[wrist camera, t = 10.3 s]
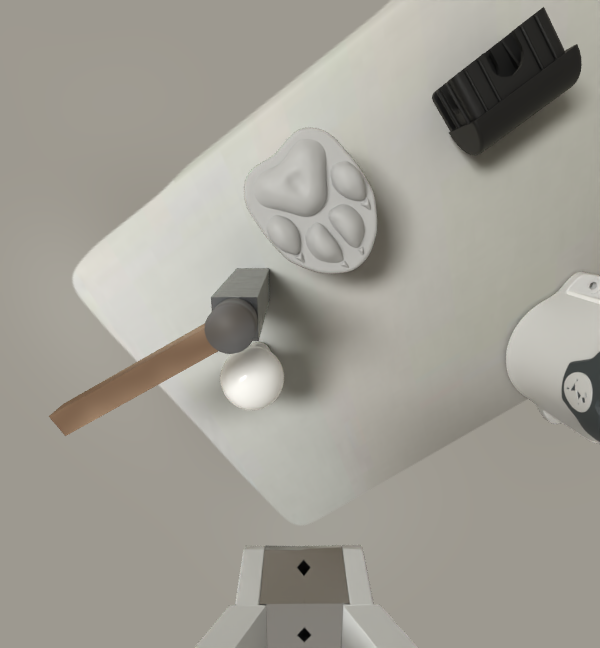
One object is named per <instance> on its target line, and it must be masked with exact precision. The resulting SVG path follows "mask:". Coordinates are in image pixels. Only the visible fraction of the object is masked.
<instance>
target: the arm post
mask: <svg viewBox="0 0 600 648" xmlns="http://www.w3.org/2000/svg"><path fill="white" fill-rule="evenodd" d="M229 298H238V299H242V300H244V301H246V302H248V303H249V304H250V305H251V306H252V307H253V308H254V310H255V312H256V314H257V319H258V324H257V328H256V331H255V334H254V337H253V340H252V341H259V338H260V334H261V330H262V326H263V323H264V319H265V315H266V312H267V308H268V304H269V300H270V293H269V269H268V268H237V269H236V270H235V271H234V272H233V273H232V274H231V276H230V277H229V278H228V279H227V280H226V281H225V282H224V283H223V284H222V286H221V287H220V288H219V289H218V290H217V291H216V292H215V293H214V294H213V296H212V297H211V304H212V311H213V310H214V308H215V307H216V306H217V305H218V304H219V303H220V302H222V301H223V300H226V299H229Z"/></svg>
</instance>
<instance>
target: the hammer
mask: <svg viewBox="0 0 600 648" xmlns="http://www.w3.org/2000/svg"><path fill="white" fill-rule="evenodd" d="M257 324H258V319H257V314H256V312H255V310H254V308H253V307H252V306H251V305H250V304H249V303H248V302H246V301H244V300H242V299H238V298H229V299H226V300H223V301H222V302H220V303H219V304H218V305H217V306H216V307H215V308H214V310H213V311H212V312H211V314H210V315H209V316H208V318H207V320H206V322H205V324H203V325H201V326H199V327H198V328H196V329H194V330H192V331H191V332H189V333H187V334H185V335H184V336H182V337H180V338H178V339H177V340H175V341H173V342H171V343H170V344H168V345H166V346H164V347H163V348H161V349H159V350H157V351H156V352H154V353H152V354H150V355H149V356H147V357H145V358H143V359H142V360H140V361H138V362H136V363H135V364H133V365H131V366H129V367H127V368H126V369H124V370H122V371H120V372H119V373H117V374H116V375H113V376H112V377H110V378H108V379H107V380H105V381H103V382H101V383H99V384H98V385H96V386H94V387H92V388H91V389H89V390H87V391H85V392H84V393H82V394H80V395H78V396H77V397H75V398H73V399H71V400H70V401H68V402H66V403H64V404H63V405H62V406H60V407H59V408H58V409H57V410H56V411H55V412H54V413H52V414H51V415H50V416H49V417H50V418H51V420H52V421H53V422H54V423H55V424H56V425H57V427H58V428H59V429H60V430H61V431H62V432H63V434H64V435H65V436H66V435H68V434H70V433H72V432H74V431H75V430H77V429H79V428H81V427H82V426H84V425H86V424H88V423H90V422H92V421H93V420H95V419H97V418H99V417H100V416H102V415H104V414H106V413H108V412H110V411H111V410H113V409H115V408H117V407H119V406H120V405H122V404H124V403H126V402H128V401H129V400H131V399H133V398H135V397H137V396H138V395H140V394H142V393H144V392H146V391H147V390H149V389H151V388H153V387H155V386H156V385H158V384H160V383H162V382H164V381H165V380H167V379H169V378H171V377H173V376H174V375H176V374H178V373H180V372H182V371H183V370H185V369H187V368H189V367H191V366H192V365H194V364H196V363H198V362H200V361H201V360H203V359H205V358H207V357H209V356H210V355H212V354H214V353H216V352H218V351H220V352H223V353H227V354H234V353H239V352H241V351H243V350H245V349H246V348H247V347H248V346H249V345H250V344H251V342H252V340H253V337H254V334H255V331H256V328H257Z"/></svg>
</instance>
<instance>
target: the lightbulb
mask: <svg viewBox="0 0 600 648" xmlns="http://www.w3.org/2000/svg"><path fill="white" fill-rule="evenodd" d="M220 382H221V387H222V390H223V393H224V394H225V396H226V398H227V399H228V400H229V401H230V402H231V403H232V404H234V405H235V406H237V407H239V408H241V409H245V410H259V409H262V408H265V407H267V406H269V405H270V404H271V403H273V402H274V401H275V400H276V399H277V397H278V396H279V395H280V393H281V391H282V388H283V385H284V371H283V367H282V365H281V363H280V361H279V360H278V358H277V357H276V356H275V355H274V354H273V353H272V352H270V349H269V347H268V346H267V345H266V344H265V343H262V342H255V343H253V344H251V345H250V346H249V347H247V348H246V349H245V350H243V351H241V352H239V353H234V354H231V355H230V356H229V357H228V358H227V360H226V361H225V363H224V365H223V367H222V370H221V375H220Z"/></svg>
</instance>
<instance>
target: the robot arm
mask: <svg viewBox="0 0 600 648" xmlns="http://www.w3.org/2000/svg"><path fill="white" fill-rule="evenodd" d="M591 283H593V285H592V287H591V288H590V287H589V286H590V284H591ZM506 367H507V372H508V375H509V378H510V380H511V382H512V383H513V385H514V386H515V388H516V389H517V390H518V391H519V392H520V393H521V394H522V395H523V396H525V397H526V398H528V399H529V400H531V401H532V402H534V403H535V404H536V405H537V407H538V409H539V411H540V413H541V415H542V416H543V417H544V418H545V419H546V420H547V421H549V422H551V423H553V424H561V423H563V424H564V425H566V426H567V427H569V428H570V429H572V430H573V431H575V432H576V433H578V434H579V435H581V436H582V437H584V438H586V439H587V440H589V441H591V442H593V443H599V444H600V275H596V274H591V273H586V272H578V273H575V274H574V275H572V276H571V277H570V278H569V279H568V280H567V281H566V282H565V284H564V285H563V286H562V287H561V288H560V290H559V291H558V292H557V293H555V294H554V295H553V296H551V297H549V298H548V299H546V300H544V301H543V302H541V303H539V304H538V305H536V306H535V307H534V308H533V309H531V310H530V311H529V312H528V313H527V314H526V315H525V316H524V317H523V318H522V319H521V321H520V322H519V323H518V325H517V326H516V328H515V329H514V331H513V333H512V335H511V338H510V340H509V343H508V347H507V352H506ZM195 648H418V647H417V646H416V645H415V644H414V642H413V641H412V640H411V639H410V638H409V637H408V636H407V635H406V633H405V632H404V631H403V630H402V629H401V628H400V627H399V626H398V624H397V623H396V622H395V621H394V620H393V619H392V618H391V616H390V615H389V614H388V613H387V612H386V611H385V610H384V609H383V607H382V606H381V605H376V604H374V603H373V597H372V593H371V588H370V583H369V577H368V572H367V567H366V562H365V557H364V552H363V548H362V546H361V545H342V546H340V545H332V546H245V548H244V551H243V557H242V564H241V570H240V577H239V584H238V590H237V597H236V604H235V606H228V608H227V609H226V610H225V611H224V612H223V614H222V615H221V616H220V617H219V619H218V620H217V621H216V622H215V624H213V626H212V627H211V628H210V629H209V631H208V632H207V633H206V634H205V635H204V637H203V638H202V639H201V641H199V643H198V644H197V645H196V646H195Z"/></svg>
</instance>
